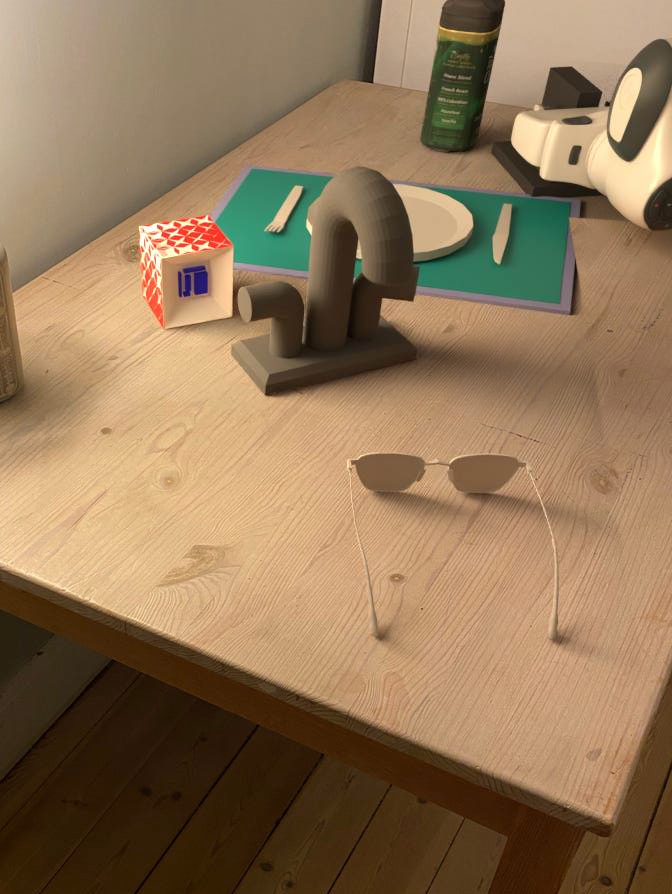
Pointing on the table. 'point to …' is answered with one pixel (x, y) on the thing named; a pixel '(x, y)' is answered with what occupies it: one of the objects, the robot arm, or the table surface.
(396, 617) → the table surface
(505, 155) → the base pad
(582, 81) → the upright pad
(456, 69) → the coffee jar
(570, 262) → the place mat
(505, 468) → the eyeglasses
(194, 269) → the patterned open box
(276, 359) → the faucet
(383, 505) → the table surface
